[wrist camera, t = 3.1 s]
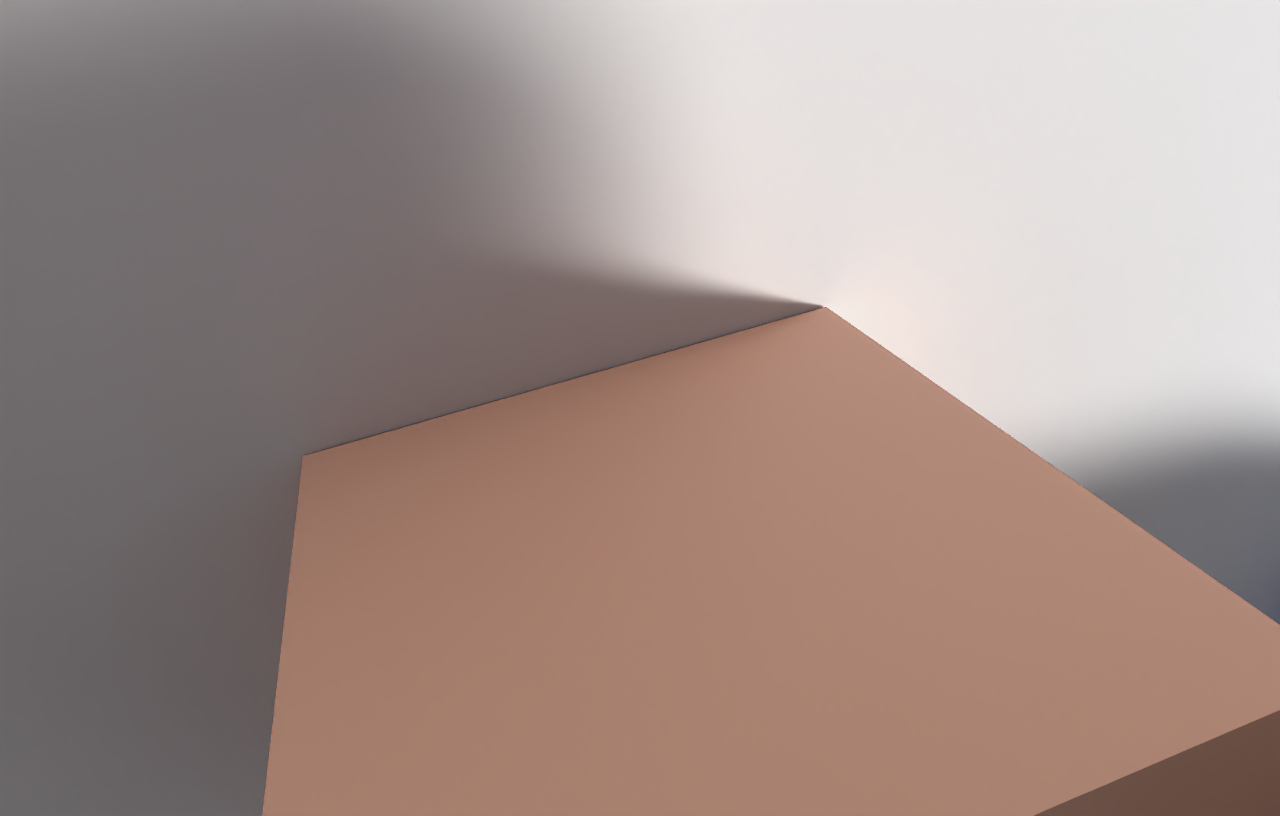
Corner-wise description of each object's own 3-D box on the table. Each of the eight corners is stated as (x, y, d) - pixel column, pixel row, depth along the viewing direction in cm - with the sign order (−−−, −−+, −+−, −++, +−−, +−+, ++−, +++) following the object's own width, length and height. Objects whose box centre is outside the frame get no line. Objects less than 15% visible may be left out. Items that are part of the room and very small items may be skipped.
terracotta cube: (843, 665, 13) (1173, 1132, 8) (457, 809, 12) (538, 1465, 6) (826, 307, 10) (1353, 678, 5) (303, 456, 9) (223, 1162, 3)
